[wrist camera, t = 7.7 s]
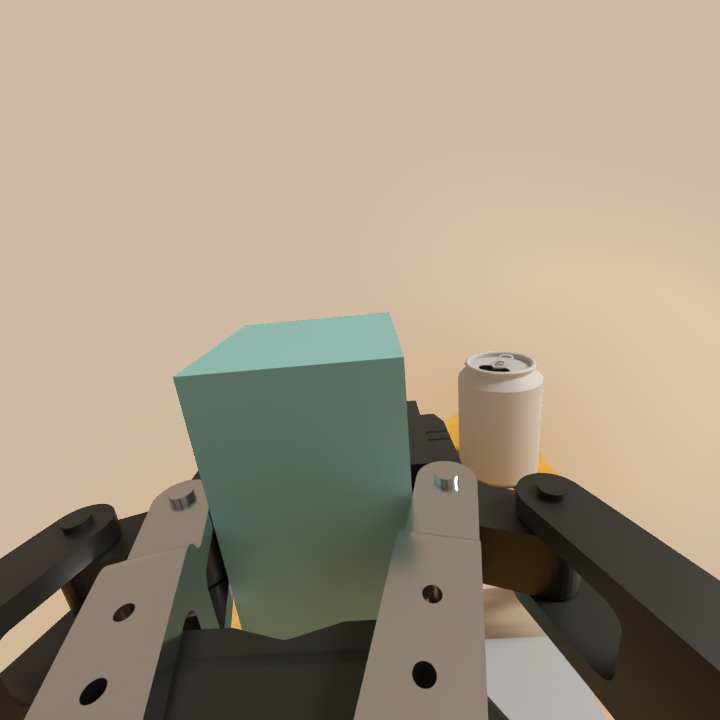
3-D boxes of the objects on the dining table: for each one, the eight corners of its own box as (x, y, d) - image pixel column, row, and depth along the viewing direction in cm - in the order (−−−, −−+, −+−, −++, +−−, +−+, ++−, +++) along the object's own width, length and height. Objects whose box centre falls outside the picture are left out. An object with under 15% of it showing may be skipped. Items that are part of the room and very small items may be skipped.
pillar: (271, 736, 9) (173, 377, 6) (298, 594, 13) (245, 325, 10) (426, 730, 9) (403, 356, 6) (408, 587, 13) (388, 312, 10)
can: (444, 471, 38) (442, 363, 34) (483, 441, 42) (484, 343, 39) (514, 505, 32) (519, 380, 29) (550, 466, 37) (559, 355, 33)
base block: (426, 642, 22) (423, 592, 20) (410, 537, 29) (407, 496, 28) (564, 634, 21) (569, 583, 20) (511, 530, 29) (512, 488, 28)
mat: (232, 1035, 12) (226, 1024, 11) (314, 542, 31) (312, 533, 30) (751, 1029, 11) (759, 1017, 11) (506, 529, 30) (506, 519, 30)
